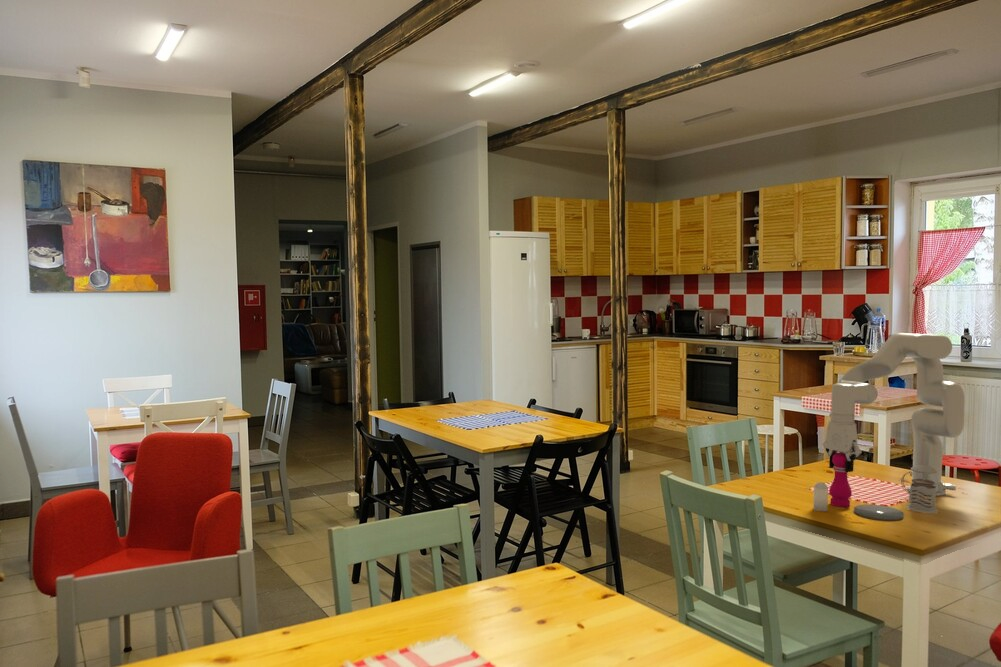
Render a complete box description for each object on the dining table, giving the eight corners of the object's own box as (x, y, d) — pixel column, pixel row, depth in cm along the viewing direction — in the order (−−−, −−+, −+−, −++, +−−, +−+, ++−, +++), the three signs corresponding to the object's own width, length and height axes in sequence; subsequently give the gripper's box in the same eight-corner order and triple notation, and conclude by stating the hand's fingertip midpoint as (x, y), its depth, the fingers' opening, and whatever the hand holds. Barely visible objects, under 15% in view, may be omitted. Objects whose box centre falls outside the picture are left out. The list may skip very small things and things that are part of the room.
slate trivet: (902, 511, 262) (902, 507, 262) (904, 522, 248) (905, 519, 248) (854, 505, 268) (854, 502, 268) (853, 516, 254) (854, 513, 254)
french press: (934, 514, 258) (937, 441, 256) (897, 508, 266) (899, 436, 264) (941, 509, 265) (944, 437, 264) (905, 502, 273) (907, 433, 272)
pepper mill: (854, 504, 270) (856, 448, 269) (847, 508, 264) (848, 451, 263) (833, 500, 275) (834, 445, 274) (825, 504, 269) (827, 448, 268)
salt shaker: (827, 508, 264) (828, 481, 264) (827, 512, 260) (827, 484, 260) (813, 507, 266) (814, 480, 265) (813, 510, 262) (813, 482, 261)
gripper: (815, 415, 274) (813, 465, 275) (855, 423, 259) (854, 476, 259) (830, 414, 277) (828, 463, 278) (871, 421, 262) (869, 474, 263)
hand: (841, 469), depth 269 cm, fingers open, 6 cm apart
